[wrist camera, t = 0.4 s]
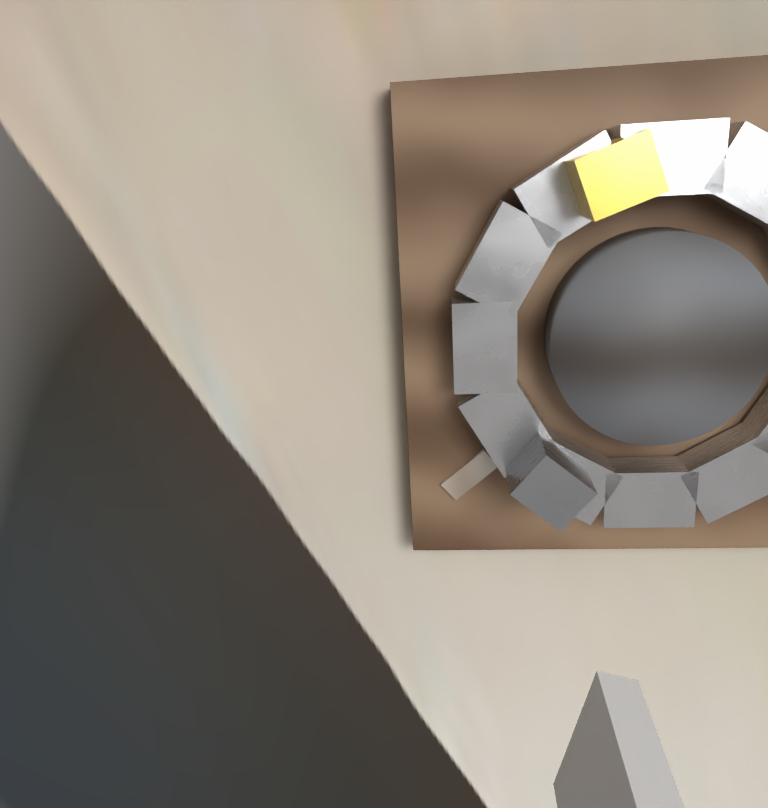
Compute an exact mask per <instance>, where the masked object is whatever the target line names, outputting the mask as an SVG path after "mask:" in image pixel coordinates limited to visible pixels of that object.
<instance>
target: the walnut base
mask: <svg viewBox="0 0 768 808" xmlns="http://www.w3.org/2000/svg"><path fill="white" fill-rule="evenodd" d="M390 92H391V112H392V132H393V152H394V171H395V191H396V211H397V231H398V251H399V270H400V290H401V310H402V330H403V350H404V369H405V389H406V409H407V429H408V449H409V468H410V488H411V508H412V528H413V548H414V550H497V549H625V548H753V547H768V495H767V496H764V497H762V498H760V499H758V500H756V501H754V502H752V503H750V504H748V505H746V506H744V507H742V508H740V509H738V510H736V511H734V512H731V513H729V514H727V515H725V516H723V517H721V518H719V519H717V520H715V521H713V522H711V523H709V524H708V523H707V522H706V521H705V519H704V518H703V516H702V515H701V514H700V512H699V511H698V509H697V508H696V512H695V523H694V527H665V528H603V526H602V523H601V521H600V519H599V516H598V515H597V517H596V518H595V520H594V521H593V522H592V524H591V525H589V524H587V523H585V522H583V521H581V520H579V519H577V518H574V519H573V520H572V521H571V522H570V523H569V524H568V525H567V526H566V527H565V528H564V529H563V530H562V531H561V532H560V531H558V530H557V529H556V528H554V527H553V526H552V525H550V524H549V523H548V522H546V521H545V520H543V519H542V518H541V517H539V516H538V515H537V514H535V513H534V512H533V511H531V510H530V509H529V508H527V507H526V506H524V505H523V504H522V503H520V502H519V501H518V500H516V499H515V498H514V497H512V496H511V495H510V492H509V487H508V481H507V477H506V478H504V477H503V475H502V474H501V472H500V471H499V469H498V468H497V466H496V464H495V463H494V461H493V460H492V458H491V457H490V455H489V454H488V452H487V451H486V449H485V448H484V446H483V444H482V443H481V441H480V440H479V438H478V437H477V435H476V434H475V432H474V431H473V429H472V428H471V426H470V425H469V423H468V421H467V420H466V418H465V417H464V415H463V414H462V412H461V411H460V409H459V408H458V394H454V369H453V334H452V298H451V296H466V295H464V294H462V293H460V292H458V291H456V290H455V281H456V280H457V278H458V276H459V274H460V272H461V270H462V268H463V267H464V265H465V263H466V261H467V259H468V257H469V255H470V254H471V252H472V250H473V248H474V246H475V244H476V242H477V241H478V239H479V237H480V235H481V233H482V231H483V230H484V228H485V226H486V224H487V222H488V220H489V218H490V217H491V215H492V213H493V211H494V209H495V207H496V205H497V204H498V202H499V200H500V199H501V200H503V201H504V202H506V203H508V204H510V205H512V206H514V207H516V208H517V209H519V210H521V211H523V209H522V208H521V206H520V204H519V202H518V201H517V199H516V197H515V195H514V194H513V192H512V190H511V189H510V188H511V187H512V186H514V185H515V184H517V183H518V182H520V181H522V180H523V179H525V178H526V177H528V176H529V175H531V174H532V173H534V172H535V171H537V170H538V169H540V168H541V167H543V166H545V165H546V164H548V163H549V162H551V161H552V160H554V159H555V158H557V157H558V156H560V155H561V154H563V153H564V152H566V151H568V150H569V149H571V148H572V147H574V146H575V145H577V144H578V143H580V142H581V141H583V140H584V139H586V138H587V137H589V136H591V135H592V134H594V133H595V132H598V131H603V130H606V132H607V134H608V136H609V138H611V127H613V126H617V125H623V124H638V123H654V122H669V121H685V120H700V119H716V118H730V123H735V122H743V121H747V122H749V123H751V124H752V125H754V126H756V127H758V128H759V129H761V130H763V131H765V132H767V133H768V55H762V56H749V57H735V58H721V59H707V60H693V61H679V62H666V63H652V64H638V65H624V66H610V67H597V68H583V69H569V70H555V71H541V72H527V73H514V74H500V75H486V76H472V77H458V78H445V79H431V80H417V81H403V82H390ZM523 212H524V211H523ZM517 378H518V380H519V381H520V383H521V385H522V386H523V388H524V389H525V391H526V393H527V394H528V396H529V397H530V399H531V401H532V402H533V404H534V405H535V407H536V409H537V410H538V412H539V414H540V415H541V417H542V418H543V420H544V422H545V423H546V425H547V426H548V428H550V429H552V430H554V431H556V432H558V433H560V434H562V435H564V436H566V437H568V438H570V439H572V440H574V441H576V442H578V443H580V444H582V445H584V446H585V447H587V448H589V449H591V450H593V451H595V452H597V453H599V454H601V455H603V456H605V457H657V456H678V455H680V454H682V453H684V452H686V451H688V450H690V449H692V448H694V447H695V446H697V445H699V444H701V443H703V442H705V441H707V440H709V439H711V438H713V437H715V436H717V435H719V434H721V433H723V432H725V431H726V430H728V429H730V428H732V427H734V426H736V425H738V424H740V423H742V422H743V420H744V419H745V418H746V416H747V415H748V413H749V412H750V411H751V409H752V408H753V407H754V405H755V404H756V403H757V401H758V400H759V398H760V397H761V396H762V394H763V393H764V392H765V390H766V389H767V388H768V238H767V236H766V234H765V232H764V230H763V228H762V227H761V226H759V225H757V224H755V223H753V222H751V221H750V220H748V219H746V218H744V217H742V216H740V215H739V214H737V213H735V212H733V211H731V210H730V209H728V208H726V207H724V206H722V205H720V204H719V203H717V202H715V201H713V200H711V199H709V198H708V197H706V196H704V195H702V194H694V195H676V196H657V197H654V198H651V199H649V200H647V201H644V202H642V203H639V204H637V205H634V206H632V207H630V208H627V209H625V210H622V211H620V212H617V213H615V214H613V215H610V216H608V217H605V218H603V219H600V220H598V221H596V222H594V221H591V222H589V223H588V224H586V225H585V226H583V227H581V228H580V229H578V230H576V231H575V232H573V233H572V234H570V235H568V236H567V237H565V238H564V239H562V240H560V241H559V242H557V244H556V245H555V247H554V249H553V250H552V252H551V254H550V256H549V257H548V259H547V261H546V263H545V264H544V266H543V268H542V269H541V271H540V273H539V275H538V276H537V278H536V280H535V282H534V283H533V285H532V287H531V288H530V290H529V292H528V294H527V295H526V297H525V299H524V301H523V302H522V304H521V306H520V307H519V309H518V311H517Z"/></svg>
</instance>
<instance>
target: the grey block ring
mask: <svg viewBox="0 0 768 808" xmlns="http://www.w3.org/2000/svg"><path fill="white" fill-rule="evenodd" d="M510 189H511V190H512V192H513V194H514V195H515V197H516V199H517V201H518V202H519V204H520V206H521V208H522V209H523V211H524V212H523V211H521V210H519V209H517V208H516V207H514V206H512V205H510V204H508V203H506V202H504V201H503V200H501V199H500V200H499V202H498V204H497V205H496V207H495V209H494V211H493V213H492V215H491V217H490V218H489V220H488V222H487V224H486V226H485V228H484V230H483V231H482V233H481V235H480V237H479V239H478V241H477V242H476V244H475V246H474V248H473V250H472V252H471V254H470V255H469V257H468V259H467V261H466V263H465V265H464V267H463V268H462V270H461V272H460V274H459V276H458V278H457V280H456V281H455V290H456V291H458V292H460V293H462V294H464V295H466V296H451V298H452V334H453V369H454V394H458V408H459V409H460V411H461V412H462V414H463V415H464V417H465V418H466V420H467V421H468V423H469V425H470V426H471V428H472V429H473V431H474V432H475V434H476V435H477V437H478V438H479V440H480V441H481V443H482V444H483V446H484V448H485V449H486V451H487V452H488V454H489V455H490V457H491V458H492V460H493V461H494V463H495V464H496V466H497V468H498V469H499V471H500V472H501V474H502V475H503V477H504V478H506V477H507V481H508V487H509V492H510V495H511V496H512V497H514V498H515V499H516V500H518V501H519V502H520V503H522V504H523V505H524V506H526V507H527V508H529V509H530V510H531V511H533V512H534V513H535V514H537V515H538V516H539V517H541V518H542V519H543V520H545V521H546V522H548V523H549V524H550V525H552V526H553V527H554V528H556V529H557V530H558V531H560V532H561V531H562V530H563V529H564V528H565V527H566V526H567V525H568V524H569V523H570V522H571V521H572V520H573V519H574V518H577V519H579V520H581V521H583V522H585V523H587V524H589V525H591V524H592V522H593V521H594V520H595V518H596V517H597V515H598V516H599V519H600V521H601V523H602V526H603V528H665V527H694V523H695V512H696V508H697V509H698V511H699V512H700V514H701V515H702V516H703V518H704V519H705V521H706V522H707V523H708V524H709V523H711V522H713V521H715V520H717V519H719V518H721V517H723V516H725V515H727V514H729V513H731V512H734V511H736V510H738V509H740V508H742V507H744V506H746V505H748V504H750V503H752V502H754V501H756V500H758V499H760V498H762V497H764V496H767V495H768V388H767V389H766V390H765V392H764V393H763V394H762V396H761V397H760V398H759V400H758V401H757V403H756V404H755V405H754V407H753V408H752V409H751V411H750V412H749V413H748V415H747V416H746V418H745V419H744V420H743V422H742V423H740V424H738V425H736V426H734V427H732V428H730V429H728V430H726V431H725V432H723V433H721V434H719V435H717V436H715V437H713V438H711V439H709V440H707V441H705V442H703V443H701V444H699V445H697V446H695V447H694V448H692V449H690V450H688V451H686V452H684V453H682V454H680V455H678V456H657V457H605V456H603V455H601V454H599V453H597V452H595V451H593V450H591V449H589V448H587V447H585V446H584V445H582V444H580V443H578V442H576V441H574V440H572V439H570V438H568V437H566V436H564V435H562V434H560V433H558V432H556V431H554V430H552V429H550V428H548V426H547V425H546V423H545V422H544V420H543V418H542V417H541V415H540V414H539V412H538V410H537V409H536V407H535V405H534V404H533V402H532V401H531V399H530V397H529V396H528V394H527V393H526V391H525V389H524V388H523V386H522V385H521V383H520V381H519V380H518V378H517V311H518V309H519V307H520V306H521V304H522V302H523V301H524V299H525V297H526V295H527V294H528V292H529V290H530V288H531V287H532V285H533V283H534V282H535V280H536V278H537V276H538V275H539V273H540V271H541V269H542V268H543V266H544V264H545V263H546V261H547V259H548V257H549V256H550V254H551V252H552V250H553V249H554V247H555V245H556V244H557V242H559V241H560V240H562V239H564V238H565V237H567V236H568V235H570V234H572V233H573V232H575V231H576V230H578V229H580V228H581V227H583V226H585V225H586V224H588V223H589V222H591V221H594V222H596V221H598V220H600V219H603V218H605V217H608V216H610V215H613V214H615V213H617V212H620V211H622V210H625V209H627V208H630V207H632V206H634V205H637V204H639V203H642V202H644V201H647V200H649V199H651V198H654V197H657V196H676V195H694V194H702V195H704V196H706V197H708V198H709V199H711V200H713V201H715V202H717V203H719V204H720V205H722V206H724V207H726V208H728V209H730V210H731V211H733V212H735V213H737V214H739V215H740V216H742V217H744V218H746V219H748V220H750V221H751V222H753V223H755V224H757V225H759V226H761V227H762V228H763V230H764V232H765V234H766V236H767V238H768V133H767V132H765V131H763V130H761V129H759V128H758V127H756V126H754V125H752V124H751V123H749V122H747V121H743V122H735V123H730V118H716V119H700V120H685V121H669V122H654V123H638V124H623V125H617V126H613V127H611V138H609V136H608V134H607V132H606V130H603V131H598V132H595V133H594V134H592V135H591V136H589V137H587V138H586V139H584V140H583V141H581V142H580V143H578V144H577V145H575V146H574V147H572V148H571V149H569V150H568V151H566V152H564V153H563V154H561V155H560V156H558V157H557V158H555V159H554V160H552V161H551V162H549V163H548V164H546V165H545V166H543V167H541V168H540V169H538V170H537V171H535V172H534V173H532V174H531V175H529V176H528V177H526V178H525V179H523V180H522V181H520V182H518V183H517V184H515V185H514V186H512V187H511V188H510Z"/></svg>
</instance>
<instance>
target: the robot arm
mask: <svg viewBox="0 0 768 808" xmlns="http://www.w3.org/2000/svg"><path fill="white" fill-rule="evenodd" d="M554 789H555V795H556V801H557V807H558V808H685V807H684V805H683V802H682V799H681V797H680V794H679V791H678V788H677V786H676V783H675V780H674V777H673V775H672V772H671V769H670V767H669V764H668V761H667V758H666V756H665V753H664V750H663V747H662V745H661V742H660V739H659V737H658V734H657V731H656V728H655V726H654V723H653V720H652V717H651V715H650V712H649V709H648V707H647V704H646V701H645V698H644V696H643V693H642V690H641V687H640V685H639V682H638V680H634V679H629V678H625V677H621V676H616V675H612V674H608V673H604V672H599V671H597V672H596V674H595V677H594V680H593V682H592V685H591V687H590V690H589V693H588V695H587V698H586V701H585V703H584V706H583V708H582V711H581V714H580V716H579V719H578V721H577V724H576V727H575V729H574V732H573V734H572V737H571V740H570V742H569V745H568V747H567V750H566V753H565V755H564V758H563V760H562V763H561V766H560V768H559V771H558V773H557V776H556V779H555V781H554Z"/></svg>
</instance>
